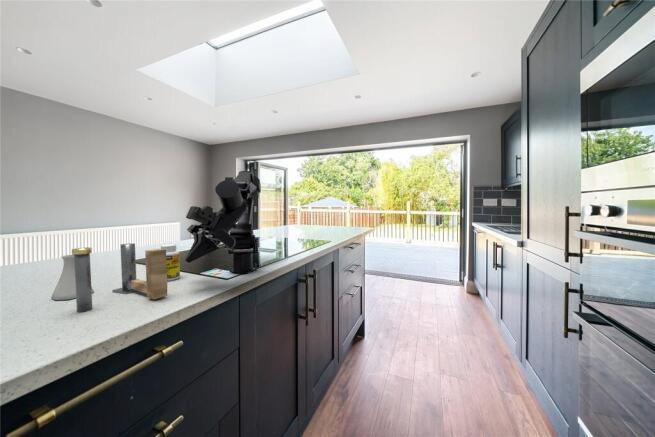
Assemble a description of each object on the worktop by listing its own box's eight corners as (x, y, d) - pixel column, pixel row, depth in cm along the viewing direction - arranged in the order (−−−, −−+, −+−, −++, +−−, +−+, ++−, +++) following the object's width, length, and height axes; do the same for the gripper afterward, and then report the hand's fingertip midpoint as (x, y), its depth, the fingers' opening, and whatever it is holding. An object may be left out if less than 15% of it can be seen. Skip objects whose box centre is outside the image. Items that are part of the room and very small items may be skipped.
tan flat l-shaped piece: (127, 291, 65) (125, 247, 64) (141, 287, 67) (139, 246, 67) (154, 299, 59) (152, 251, 58) (167, 295, 61) (166, 249, 61)
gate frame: (132, 286, 70) (130, 238, 70) (155, 288, 68) (153, 239, 67) (54, 309, 55) (51, 248, 54) (81, 313, 52) (77, 250, 52)
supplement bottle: (160, 282, 73) (159, 247, 73) (156, 278, 77) (155, 245, 77) (182, 278, 77) (181, 245, 77) (177, 275, 81) (176, 243, 81)
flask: (67, 302, 59) (64, 258, 58) (43, 300, 60) (40, 257, 60) (101, 291, 66) (99, 253, 65) (78, 290, 67) (76, 252, 67)
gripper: (193, 196, 74) (149, 238, 67) (222, 194, 61) (171, 245, 54) (221, 222, 80) (183, 263, 73) (252, 225, 68) (210, 275, 60)
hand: (186, 261), depth 65 cm, fingers closed
